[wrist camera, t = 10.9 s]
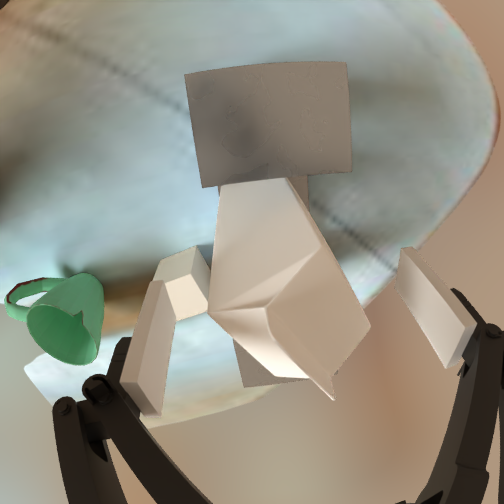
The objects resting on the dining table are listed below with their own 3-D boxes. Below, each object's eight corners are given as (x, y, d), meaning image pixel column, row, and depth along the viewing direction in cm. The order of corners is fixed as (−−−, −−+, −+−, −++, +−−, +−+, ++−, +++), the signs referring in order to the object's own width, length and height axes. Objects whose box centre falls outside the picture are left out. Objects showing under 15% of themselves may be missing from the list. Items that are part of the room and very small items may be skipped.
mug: (123, 267, 36) (96, 320, 27) (118, 322, 40) (99, 374, 32) (30, 239, 33) (-10, 280, 24) (35, 294, 37) (5, 337, 29)
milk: (270, 152, 28) (352, 286, 9) (302, 200, 31) (397, 372, 12) (219, 187, 30) (199, 367, 11) (253, 231, 32) (282, 426, 13)
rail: (204, 81, 26) (172, 67, 12) (294, 72, 26) (354, 53, 12) (235, 284, 38) (238, 391, 24) (307, 275, 38) (342, 376, 24)
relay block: (160, 259, 36) (149, 289, 31) (196, 245, 35) (190, 273, 30) (179, 290, 38) (172, 322, 33) (214, 278, 38) (212, 309, 32)
